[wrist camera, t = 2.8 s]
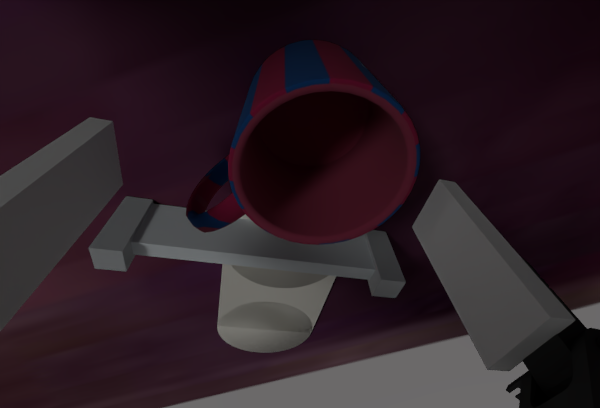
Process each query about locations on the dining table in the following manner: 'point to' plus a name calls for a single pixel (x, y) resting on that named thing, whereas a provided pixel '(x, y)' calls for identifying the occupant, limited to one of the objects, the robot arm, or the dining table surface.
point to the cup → (313, 151)
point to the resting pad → (269, 306)
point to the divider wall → (239, 247)
